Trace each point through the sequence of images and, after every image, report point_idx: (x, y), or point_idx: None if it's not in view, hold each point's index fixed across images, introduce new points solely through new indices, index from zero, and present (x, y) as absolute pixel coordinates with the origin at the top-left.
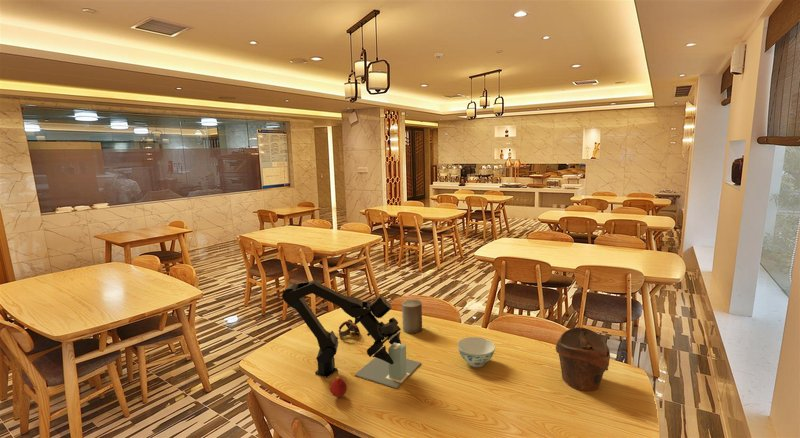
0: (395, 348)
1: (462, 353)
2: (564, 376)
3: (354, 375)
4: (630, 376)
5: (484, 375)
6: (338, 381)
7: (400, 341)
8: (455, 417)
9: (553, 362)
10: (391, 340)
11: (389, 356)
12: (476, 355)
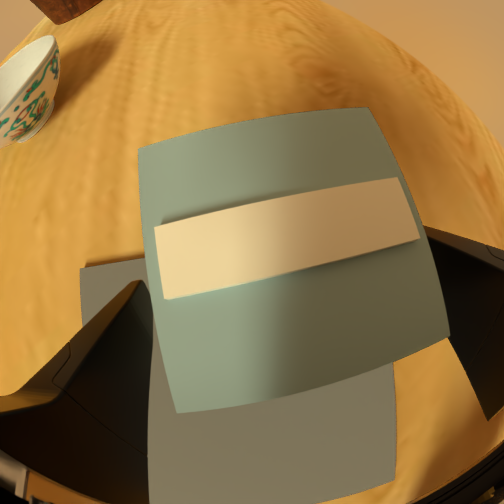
0: (393, 196)
1: (36, 84)
2: (85, 1)
3: (392, 477)
4: None
5: (91, 66)
6: None
7: (54, 357)
8: (325, 27)
9: None
10: (120, 493)
11: (458, 245)
12: (55, 43)
